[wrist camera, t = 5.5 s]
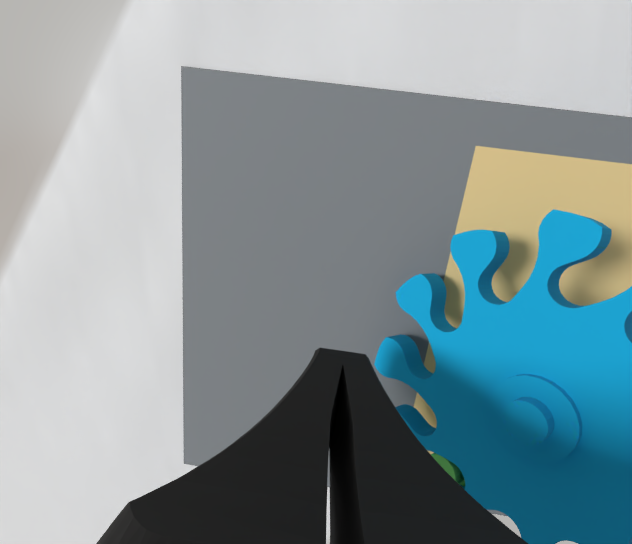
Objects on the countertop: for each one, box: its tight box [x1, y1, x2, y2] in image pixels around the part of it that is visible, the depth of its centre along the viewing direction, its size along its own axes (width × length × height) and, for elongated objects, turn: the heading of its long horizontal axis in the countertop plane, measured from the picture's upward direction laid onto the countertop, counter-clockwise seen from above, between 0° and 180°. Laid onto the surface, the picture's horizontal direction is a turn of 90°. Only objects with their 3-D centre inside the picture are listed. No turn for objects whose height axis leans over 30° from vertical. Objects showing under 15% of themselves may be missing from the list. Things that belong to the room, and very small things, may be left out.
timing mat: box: [181, 66, 632, 516], centre depth 14 cm, size 18×15×1 cm
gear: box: [374, 209, 632, 544], centre depth 12 cm, size 11×6×10 cm
